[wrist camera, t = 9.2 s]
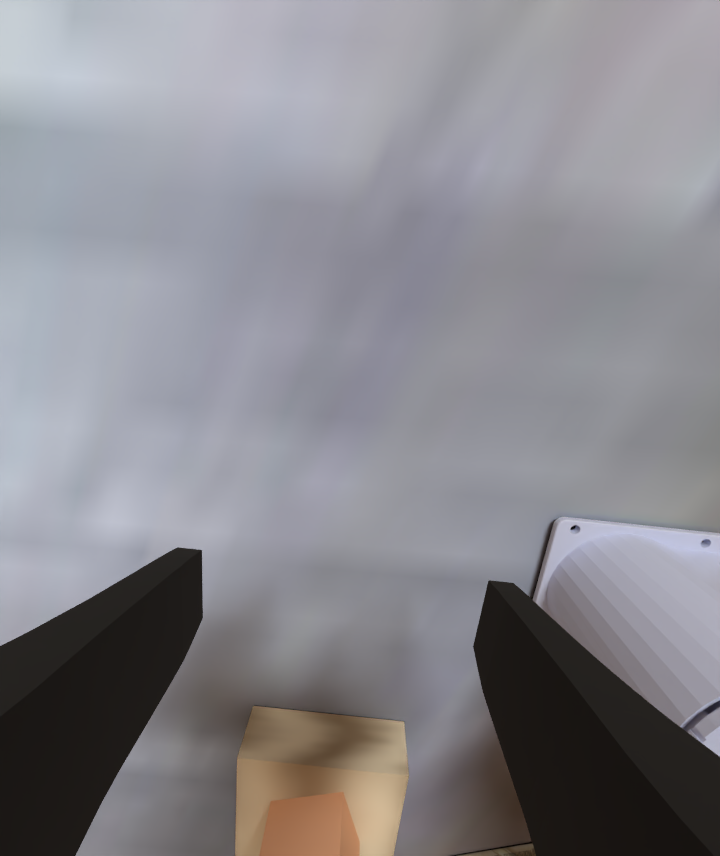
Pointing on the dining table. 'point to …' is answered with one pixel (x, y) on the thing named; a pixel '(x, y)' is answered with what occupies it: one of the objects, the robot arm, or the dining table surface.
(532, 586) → the dining table surface
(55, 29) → the dining table surface
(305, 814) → the block
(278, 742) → the riser
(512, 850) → the coffee box
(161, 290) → the dining table surface
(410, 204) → the dining table surface
